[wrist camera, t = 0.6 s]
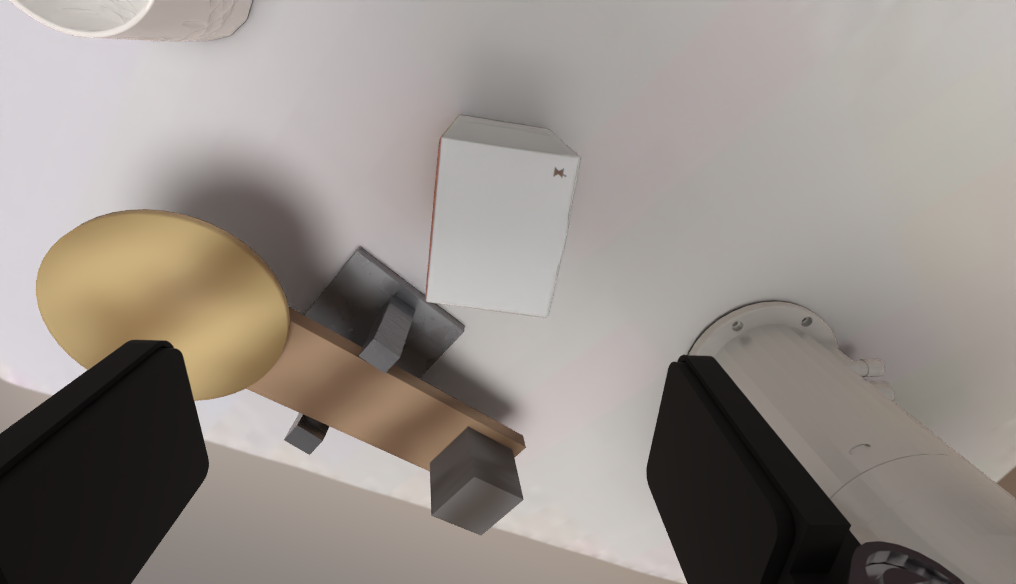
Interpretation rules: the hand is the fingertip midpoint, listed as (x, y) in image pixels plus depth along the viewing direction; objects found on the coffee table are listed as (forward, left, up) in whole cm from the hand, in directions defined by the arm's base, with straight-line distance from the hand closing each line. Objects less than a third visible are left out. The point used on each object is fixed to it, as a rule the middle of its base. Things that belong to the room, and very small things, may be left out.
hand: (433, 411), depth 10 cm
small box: (-2, +1, -27) cm, 27 cm away
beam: (+11, +11, -21) cm, 26 cm away
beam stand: (+9, +13, -27) cm, 31 cm away
